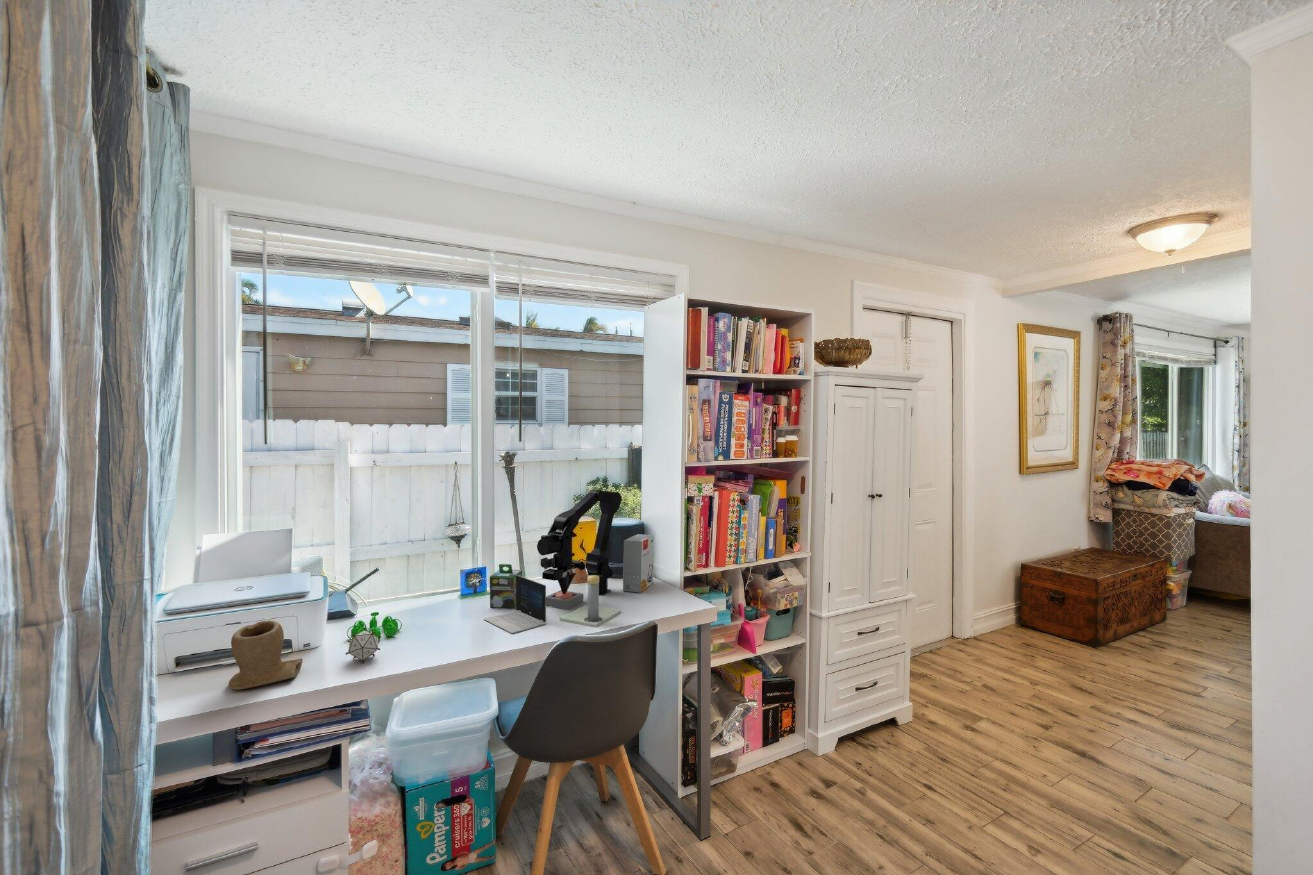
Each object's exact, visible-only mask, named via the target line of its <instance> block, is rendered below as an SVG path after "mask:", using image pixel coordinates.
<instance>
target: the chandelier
mask: <svg viewBox="0 0 1313 875" xmlns="http://www.w3.org/2000/svg"><path fill="white" fill-rule="evenodd" d="M379 615H380V612H378V611H376V612H370V616H371V619H369V627H367V624H366V623H365V622H364V620H357V621H355V622H354V624H353V625H351V626H349V628H348V629H347V631H346V636H347V638H349V639H350V640H351V638H353V637H354V636H352V634H354V635H357V634H358V633H360V632H362V631H364V630H363V628H364V627H365V628H366V629H365V631H368V632H370V633H372V632H374V635H375V636H377V637H380V636H381V637H382V633H381V631H383V634H384V635H385V637H387V636H389V637H392V636H393V637H392V638H394V637H395V636H396V635H397V631H398V632H399V631H400V630H401V629H402V626H403V624H402V622H401V620H400V619H399V618H393V617H392V615H391V616H390V615H386V616H385V617H384V618H383V620H382V622H381V625H380V626H378V620H377V618H376V616H379ZM398 621H399V622H400V628H399V623H398ZM385 629H386V630H385ZM349 631H350V636H349ZM349 639H348V640H349ZM380 640H381V638H380V639H378V641H380Z"/></svg>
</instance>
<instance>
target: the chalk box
mask: <svg viewBox="0 0 1313 875" xmlns="http://www.w3.org/2000/svg"><path fill="white" fill-rule="evenodd" d="M498 567H499V569H498V570H497V571H494V572H493V574H491V575H489V606H490V607H489V608H496V609H500V608H501V609H513V610H514V609H516V575H518V576H521V577H523V570H522V569H513V566H512V564H510V563H509V564H508V563H507V564H506V563H500V564H499V565H498ZM504 568H507V569H504Z"/></svg>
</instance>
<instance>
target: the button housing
mask: <svg viewBox="0 0 1313 875" xmlns="http://www.w3.org/2000/svg"><path fill="white" fill-rule="evenodd" d="M560 591H561V589H560V590H558V591H556V592H555V591H554V592H553V593H551V594H549V595H546V607H549V606H552V607H551V608H555V609H561V610H568V611H569V610H570V609H572V608H574V607H576V606H578V605H580V604H581V603H582V604H583V603H584V593H583V592H575V591H571V592H572V593H573V595H572V597H571V598H568V599H561V598H556V593H557V592H560Z"/></svg>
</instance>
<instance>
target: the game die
mask: <svg viewBox="0 0 1313 875" xmlns="http://www.w3.org/2000/svg"><path fill="white" fill-rule="evenodd" d="M366 628H367V627H366ZM366 628H365V626H364V628H363V630H364V631H362V632H360V633H358V634H357V635H354V634H352V636H354V637H353V638H352V639H350V640H349V639H348V640H347V641H346V642H347V643H348V650H347V652H345V653H344V654H345V655H346V656H347V655H351V656H353V657H352V658H353V660H355V659H358V660H360V661H361V664H362V663H363V664H364V663H365V660H367V659H369V658H370V657H372V656H373V657H375V656H376V654H375V653H376V652H377V651H380V650H381V648H380V647H379V640H378V639H380V640H381V638H382V635H381V636H380V637H377V636H375V635H374V632H373V631H371V632H369V630H368V631H365V629H366ZM354 658H355V659H354Z"/></svg>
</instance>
